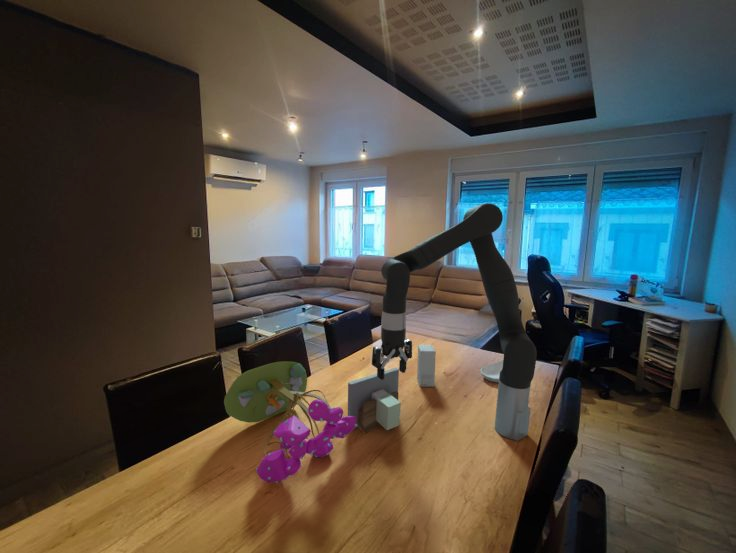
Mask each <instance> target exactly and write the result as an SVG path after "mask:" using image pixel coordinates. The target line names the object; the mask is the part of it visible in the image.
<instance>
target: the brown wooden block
mask: <svg viewBox="0 0 736 553" xmlns="http://www.w3.org/2000/svg"><path fill="white" fill-rule="evenodd" d="M390 395H392V396H393V397H394V398H396V399H397V400H398V401H399V391H398V392H397V391H395V392H392V393H390ZM376 406H377V400H375V399H373V400H370V401H368V402H365V403H363V407H362V408H360V409H358V427H357V428H358V429H359V430H360V431H361V432H362V433H363V434H365V433H367V432H371V431H373V430H375V429H377V428H379V427H381V426H382V425H381V424H380V423H378V422H377V421H376ZM382 427H383V426H382Z"/></svg>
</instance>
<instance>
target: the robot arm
mask: <svg viewBox="0 0 736 553" xmlns="http://www.w3.org/2000/svg"><path fill="white" fill-rule="evenodd" d="M503 218H504V215H503V211H502V210H501V208H500V207H499V206H498V205H496V204H494V203H490V202H487V203H482V204H478V205H475V206H473V207H470V208H469V209H467V211H466V212H465V213H464V215H463V219H462V221H460V222H459V223H457V224H456V225H454V226H452V227H449V228H448V229H445V230H444V231H442V232H440V233H437V234H435V235H433V236H431V237H430V238H429V237H428V238H427V239H426V240H424V241H422V242H421V243H419V244H417V245H415V246H414V247H412V248H411V249H409V250H407V251H404V252H402V253H400V254H398V255H395V256H392V257H391V258H389V259H388V260H386V261H385V262H384V263H383V265H382V267H381V276H382V278H383V279H384V280H385V281H386V287H385V288H386V289H385V292H384V293H383V295H382V312H381V318H380V320H381V325H380V326H381V327H380V331H381V332H380V339H381V345H380V346H378V347H377V346H375V345H374V346H373V347H372V352H371V353H372V354H371V365H372V366H373V367H375V368H376V369H377V370H376V371H377V372H376V374H377V376H378V378H380V379H381V380H383V379H384V371H386V370H385V367H386V365H387V363H389V362H390V360H392V359H394V358H399V364H398V366H399V368H398V369H399V372H401V373H402V374H404V373H406V370H407V363H408V361H409V359H412V358H413V342H412V340H410V339H407V338H406V334H407V333H406V332H407V331H406V330H407V313H406V312H407V310H406V309H407V308H406V307H407V295H408V292H409V287H410V280H411V273H413V272H414V271H421V270H423V269H425V268H427V267H429V266H431V265H433V264H434V263H435V262H437V261H439V260H440V259H442V258H445V256H447V255H449V254H450V253H452V252H453V251H455V250H457V249H459V248H460V247H463V246H464V245H466V244H467V243H470V245H471V249H472V250H473V254H474V257H475V261H476V263H477V264H476V265H477V268H478V270H479V275H480V277H481V282H482V285H483V289H484V293H485V295H486V297H487V301H488V304H489V306H490V308H491V312H492V313H493V316H494V318H495V321H496V324H497V331H498V334H499V341H500V347H501V350H502V352H503V358H502V360H503V367H502V370H501V371H500V376H499V382H498V388H497V396H496V397H497V399H496V408H495V409H496V410H495V420H494V429H495V431H496V432H497V434H499V435H500V436H502V437H505V438H507V439H510V440H514V441H516V442H519V441H521V440H522V439H523V438H525V437H526V436H528V435H529V427H530V419H531V410H532V409H531V407H530V406H529V402H530V401H529V400H530V394H531V392H530V391H531V386H532V384H531V383H532V381H533V379H534V376H535V370H536V364H537V354H538V353H537V347H536V346H535V344H534V342H533V341H532V340H531V339H530V337H529V335H528V334H527V331H526V329H525V326H524V325H523V321H522V319H521V315H520V308H519V293H518V292H519V291H518V289H517V288H518V287H517V285H516V284H517V283H516V281H515V280H516V279H515V277H514V274H513V271H512V269H511V268H510V267H511V266H509V264H508V263H507V261H506V260H505V259H504V257H503V256H502V254H501V253H500V251H499V250H498V248H497V246H496V243H495V241H494V235H493V233H495V232H496V231H497V230H498V229H499V228H500V227H501V225H502V223H503V220H504V219H503Z"/></svg>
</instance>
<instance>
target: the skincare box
mask: <svg viewBox="0 0 736 553" xmlns="http://www.w3.org/2000/svg"><path fill="white" fill-rule="evenodd" d="M436 352H437V351H436V349H435V348H434V346H433V344H418V345H417V374H416V375H417V376H416V379H417V382H418V385H419V387H423V388H424V387H433V388H434V387H435V383H436V382H435V379H436V378H435V377H436V375H435V374H436Z"/></svg>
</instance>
